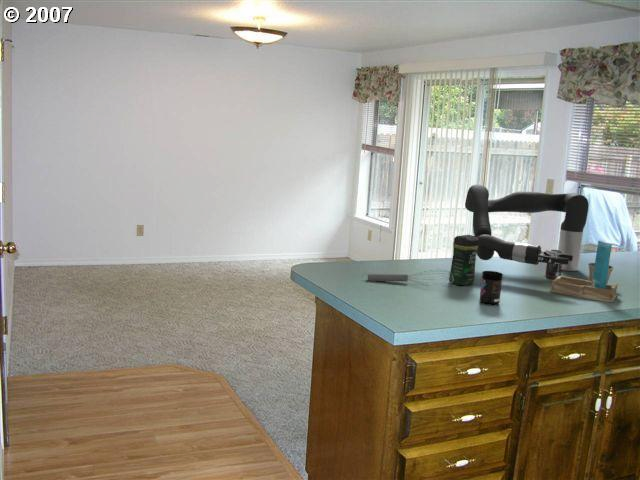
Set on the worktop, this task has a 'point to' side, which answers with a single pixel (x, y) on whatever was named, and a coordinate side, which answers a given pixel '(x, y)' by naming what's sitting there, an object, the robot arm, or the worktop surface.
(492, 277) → the supplement container
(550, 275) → the supplement bottle
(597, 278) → the tube
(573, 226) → the robot arm
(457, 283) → the coffee jar
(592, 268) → the flower pot
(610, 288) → the keyhole tray
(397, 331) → the worktop surface
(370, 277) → the kitchen whisk
